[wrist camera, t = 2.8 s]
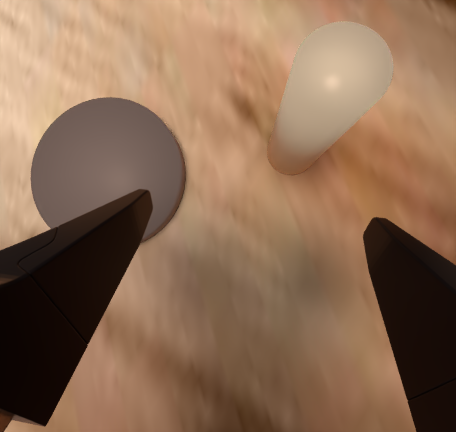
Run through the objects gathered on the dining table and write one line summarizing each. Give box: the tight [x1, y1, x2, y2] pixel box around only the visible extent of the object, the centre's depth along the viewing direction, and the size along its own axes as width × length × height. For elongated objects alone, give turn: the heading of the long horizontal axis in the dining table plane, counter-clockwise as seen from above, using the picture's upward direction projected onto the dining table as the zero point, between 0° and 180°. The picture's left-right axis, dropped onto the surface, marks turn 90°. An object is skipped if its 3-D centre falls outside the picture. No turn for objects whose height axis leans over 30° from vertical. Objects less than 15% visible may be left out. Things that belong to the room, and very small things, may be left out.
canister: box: [267, 21, 393, 175], centre depth 17 cm, size 5×5×12 cm
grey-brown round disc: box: [31, 97, 186, 242], centre depth 23 cm, size 15×15×2 cm
